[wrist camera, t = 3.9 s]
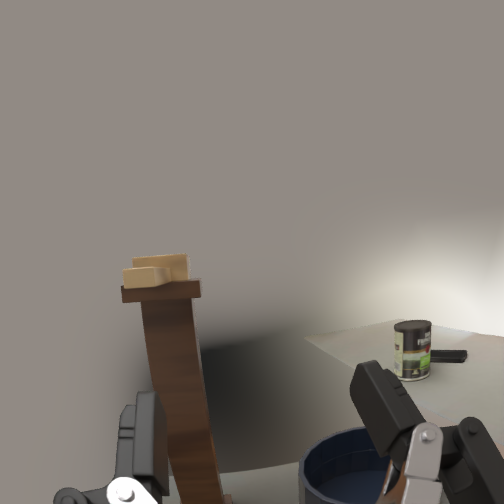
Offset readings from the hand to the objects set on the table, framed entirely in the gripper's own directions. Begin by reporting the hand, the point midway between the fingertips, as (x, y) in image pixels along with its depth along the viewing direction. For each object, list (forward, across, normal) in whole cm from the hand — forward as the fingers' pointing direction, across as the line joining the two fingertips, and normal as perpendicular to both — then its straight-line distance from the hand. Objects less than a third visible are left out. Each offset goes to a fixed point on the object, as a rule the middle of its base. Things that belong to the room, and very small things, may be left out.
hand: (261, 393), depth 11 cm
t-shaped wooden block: (+14, +6, +3) cm, 16 cm away
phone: (+35, -63, +52) cm, 89 cm away
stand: (+3, +6, +34) cm, 34 cm away
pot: (-1, -14, +32) cm, 35 cm away
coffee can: (+32, -48, +51) cm, 77 cm away
